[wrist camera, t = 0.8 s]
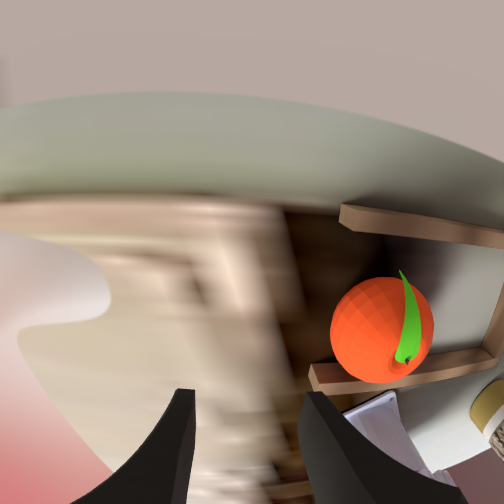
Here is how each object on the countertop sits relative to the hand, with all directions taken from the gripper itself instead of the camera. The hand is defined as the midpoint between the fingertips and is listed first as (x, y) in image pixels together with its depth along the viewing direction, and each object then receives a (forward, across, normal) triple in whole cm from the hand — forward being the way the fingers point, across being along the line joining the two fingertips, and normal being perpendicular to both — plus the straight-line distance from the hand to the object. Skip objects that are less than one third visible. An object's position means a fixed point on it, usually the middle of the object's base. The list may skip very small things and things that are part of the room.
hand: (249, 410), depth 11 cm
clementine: (+11, -9, 0) cm, 14 cm away
